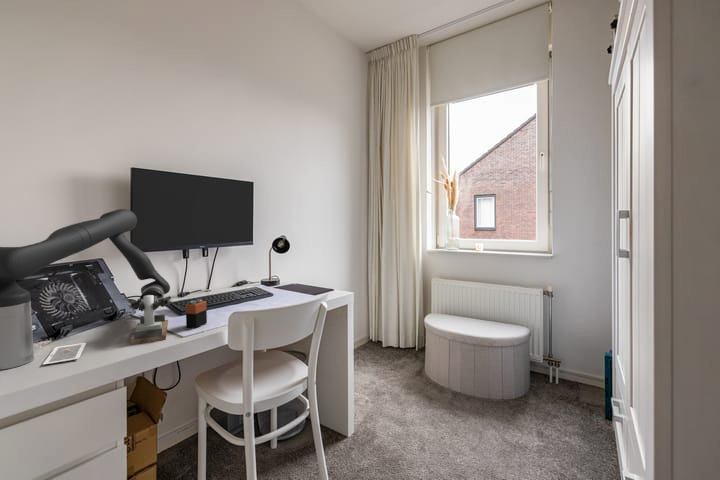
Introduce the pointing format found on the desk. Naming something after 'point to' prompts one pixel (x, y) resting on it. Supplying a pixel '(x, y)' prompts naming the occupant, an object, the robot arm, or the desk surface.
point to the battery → (196, 314)
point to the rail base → (164, 331)
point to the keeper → (149, 314)
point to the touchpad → (65, 353)
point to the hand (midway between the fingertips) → (148, 307)
